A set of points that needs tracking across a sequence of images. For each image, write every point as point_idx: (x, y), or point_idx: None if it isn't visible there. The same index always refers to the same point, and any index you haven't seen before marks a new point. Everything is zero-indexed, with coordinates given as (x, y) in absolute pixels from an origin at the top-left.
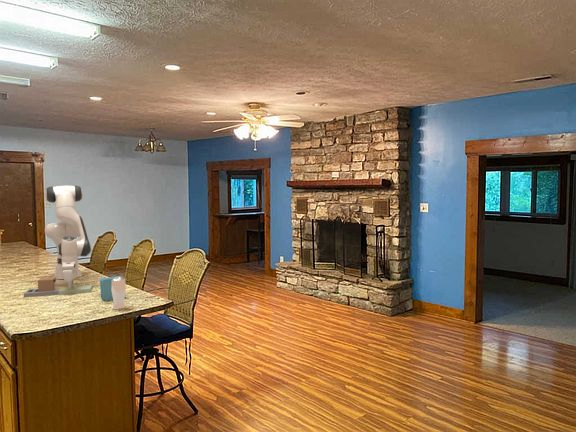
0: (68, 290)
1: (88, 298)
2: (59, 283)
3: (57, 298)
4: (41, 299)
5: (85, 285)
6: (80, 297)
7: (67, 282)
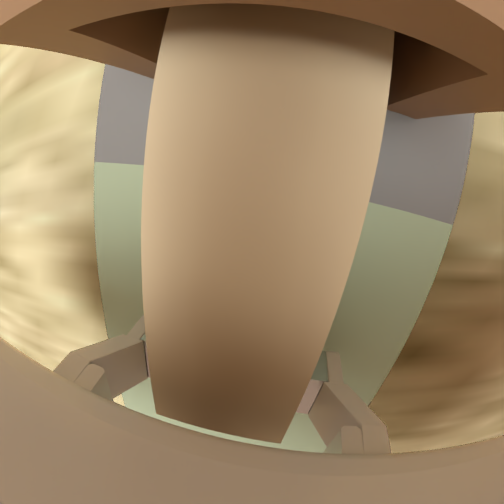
0: (100, 286)
1: (8, 342)
2: (152, 190)
3: (3, 171)
4: (20, 48)
5: (318, 444)
6: (17, 319)
7: (149, 361)
